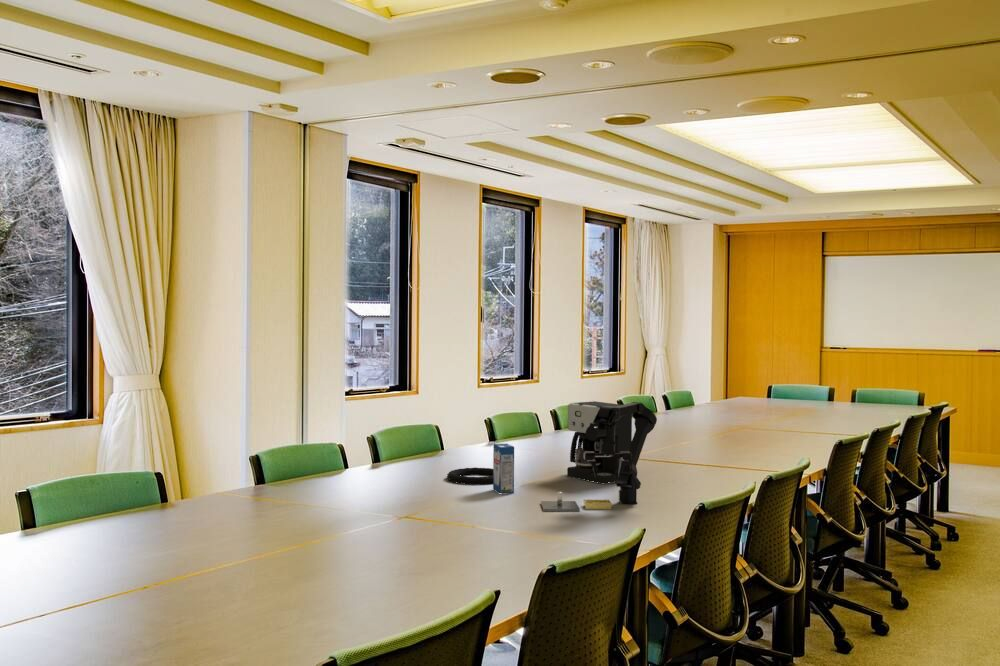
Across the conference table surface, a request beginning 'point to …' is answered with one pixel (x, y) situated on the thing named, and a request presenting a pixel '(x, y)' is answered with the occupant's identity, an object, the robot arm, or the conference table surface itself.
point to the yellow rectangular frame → (597, 504)
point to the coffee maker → (579, 422)
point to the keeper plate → (559, 508)
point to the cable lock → (456, 477)
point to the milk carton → (503, 468)
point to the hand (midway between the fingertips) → (607, 477)
